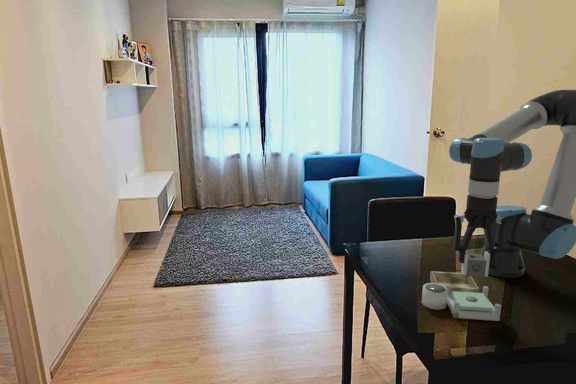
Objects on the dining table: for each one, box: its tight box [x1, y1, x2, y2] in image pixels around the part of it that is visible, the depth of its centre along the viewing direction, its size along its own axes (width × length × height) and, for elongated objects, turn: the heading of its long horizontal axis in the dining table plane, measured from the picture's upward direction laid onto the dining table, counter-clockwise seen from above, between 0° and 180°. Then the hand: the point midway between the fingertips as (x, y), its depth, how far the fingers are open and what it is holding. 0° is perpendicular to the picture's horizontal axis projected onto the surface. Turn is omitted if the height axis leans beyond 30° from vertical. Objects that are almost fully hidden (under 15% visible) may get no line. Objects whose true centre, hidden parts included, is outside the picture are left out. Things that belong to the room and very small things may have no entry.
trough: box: [429, 270, 481, 293], centre depth 132 cm, size 12×11×3 cm
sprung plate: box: [451, 291, 493, 311], centre depth 119 cm, size 9×9×1 cm
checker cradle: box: [446, 284, 502, 322], centre depth 119 cm, size 12×12×4 cm
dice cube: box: [466, 252, 486, 278], centre depth 118 cm, size 5×5×5 cm
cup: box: [421, 282, 448, 311], centre depth 122 cm, size 7×7×5 cm
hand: (474, 273), depth 117 cm, fingers closed on dice cube, 5 cm apart
